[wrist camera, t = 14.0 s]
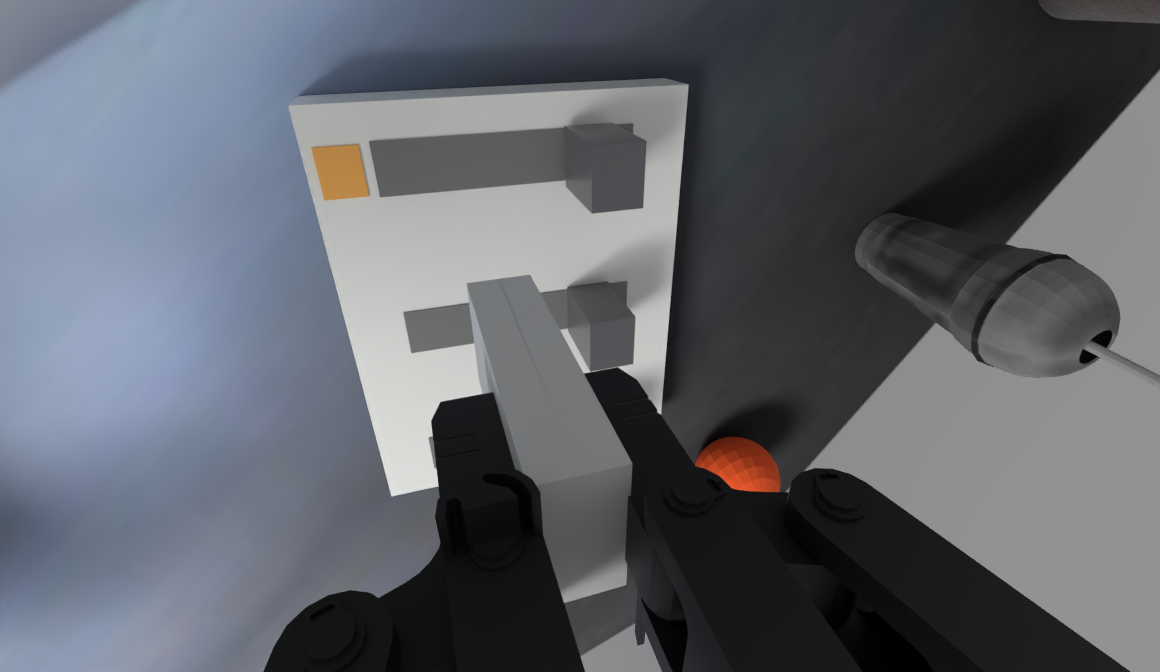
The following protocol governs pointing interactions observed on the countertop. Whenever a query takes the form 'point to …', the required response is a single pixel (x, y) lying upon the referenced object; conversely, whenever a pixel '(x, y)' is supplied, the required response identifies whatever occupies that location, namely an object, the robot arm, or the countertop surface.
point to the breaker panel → (485, 236)
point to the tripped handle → (605, 166)
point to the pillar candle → (1104, 10)
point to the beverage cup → (998, 297)
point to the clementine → (741, 464)
